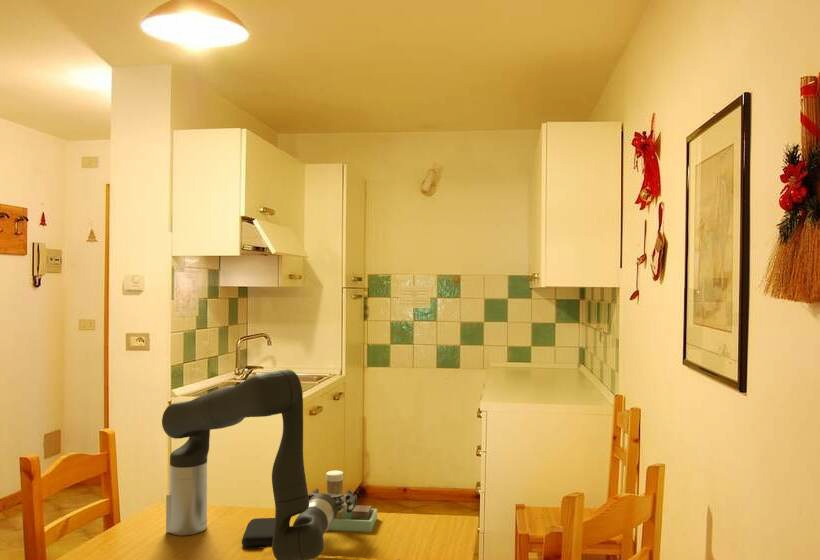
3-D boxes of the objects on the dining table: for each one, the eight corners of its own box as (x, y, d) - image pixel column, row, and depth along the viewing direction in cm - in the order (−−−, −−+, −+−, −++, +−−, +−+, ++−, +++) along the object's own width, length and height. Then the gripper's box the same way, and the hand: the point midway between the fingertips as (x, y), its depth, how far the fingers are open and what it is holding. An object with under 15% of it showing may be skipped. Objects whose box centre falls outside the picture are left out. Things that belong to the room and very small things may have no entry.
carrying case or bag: (285, 549, 153) (289, 526, 167) (285, 536, 153) (289, 515, 167) (240, 551, 151) (248, 528, 166) (240, 538, 151) (248, 516, 166)
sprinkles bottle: (346, 524, 166) (346, 472, 166) (330, 527, 164) (330, 475, 164) (338, 519, 170) (338, 468, 170) (323, 522, 167) (323, 471, 168)
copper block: (351, 526, 165) (351, 511, 165) (354, 520, 169) (354, 505, 169) (368, 527, 164) (368, 511, 164) (371, 520, 169) (371, 505, 169)
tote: (315, 531, 163) (315, 519, 163) (324, 518, 172) (324, 506, 172) (371, 534, 161) (371, 521, 161) (377, 520, 170) (377, 508, 170)
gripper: (347, 500, 147) (360, 479, 163) (288, 497, 149) (306, 477, 165) (347, 532, 147) (360, 508, 163) (288, 530, 148) (306, 506, 165)
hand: (333, 492), depth 164 cm, fingers open, 8 cm apart
